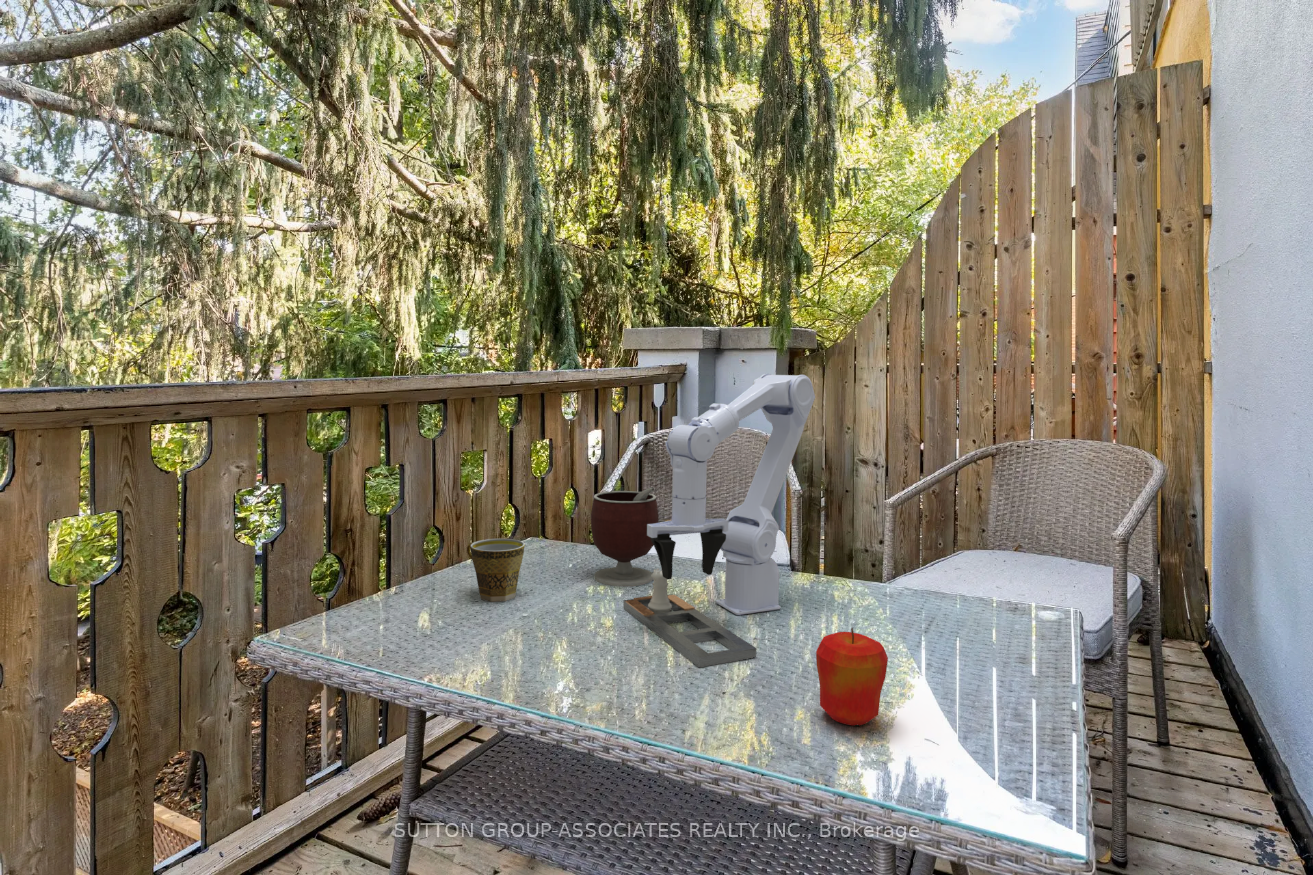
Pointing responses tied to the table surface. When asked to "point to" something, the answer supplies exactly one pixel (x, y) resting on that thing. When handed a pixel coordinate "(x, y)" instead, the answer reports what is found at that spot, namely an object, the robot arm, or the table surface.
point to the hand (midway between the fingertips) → (687, 575)
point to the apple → (851, 676)
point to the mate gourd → (623, 534)
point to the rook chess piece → (659, 594)
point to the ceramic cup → (497, 567)
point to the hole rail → (687, 639)
